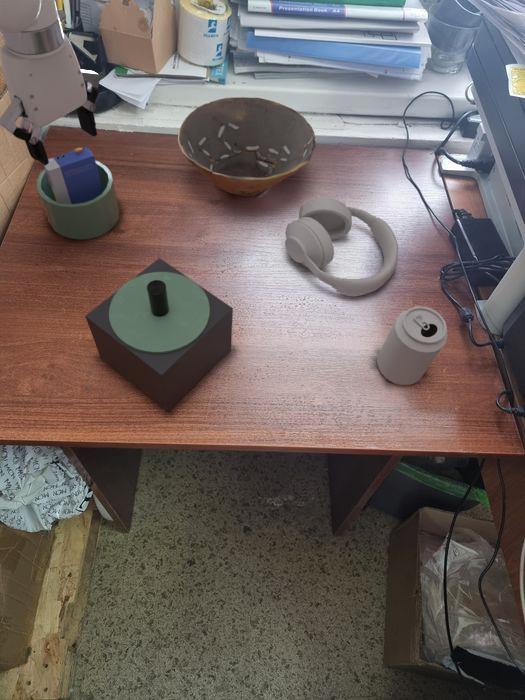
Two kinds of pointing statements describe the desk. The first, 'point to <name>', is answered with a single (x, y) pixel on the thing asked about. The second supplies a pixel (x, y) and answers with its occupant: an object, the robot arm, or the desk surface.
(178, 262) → the desk surface
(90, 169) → the walkman
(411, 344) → the can
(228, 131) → the bowl
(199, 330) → the lid
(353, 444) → the desk surface
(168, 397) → the stand
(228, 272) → the desk surface
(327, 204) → the headphones
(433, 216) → the desk surface
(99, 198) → the pot
